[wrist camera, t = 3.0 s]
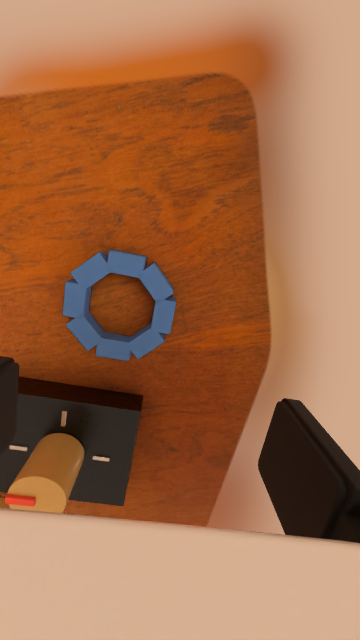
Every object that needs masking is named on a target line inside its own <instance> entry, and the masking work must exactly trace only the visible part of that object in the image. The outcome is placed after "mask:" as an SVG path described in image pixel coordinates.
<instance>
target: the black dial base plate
mask: <svg viewBox="0 0 360 640" xmlns="http://www.w3.org/2000/svg"><path fill="white" fill-rule="evenodd" d="M142 400H143V396H142V395H135V394H129V393H122V392H115V391H109V390H102V389H96V388H89V387H83V386H76V385H69V384H63V383H56V382H50V381H43V380H36V379H30V378H23V377H19V379H18V400H17V421H16V433H15V436H14V439H13V440H12V442H11V443H10V445H9V446H8V447H7V449H6V450H5V451H4V453H3V454H2V455H1V457H0V492H5V493H8V490H9V488H10V486H11V485H12V483H13V482H14V480H15V478H16V477H17V475H18V474H19V472H20V471H21V469H22V468H23V466H24V464H25V463H26V461H27V460H28V458H29V457H30V455H31V454H32V452H33V450H34V449H35V447H36V446H37V444H38V443H39V441H40V440H41V439H42V438H44V437H45V436H47V435H49V434H53V433H65V434H68V435H71V436H73V437H75V438H76V439H77V440H78V441H79V442H80V443H81V444H82V446H83V448H84V453H85V455H84V460H83V463H82V465H81V468H80V470H79V473H78V476H77V478H76V481H75V483H74V486H73V489H72V491H71V494H70V496H69V499H68V500H75V501H84V502H92V503H101V504H110V505H118V506H124V501H125V495H126V490H127V484H128V479H129V473H130V468H131V462H132V457H133V451H134V446H135V440H136V435H137V429H138V424H139V418H140V413H141V407H142Z"/></svg>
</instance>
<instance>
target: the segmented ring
mask: <svg viewBox="0 0 360 640" xmlns="http://www.w3.org/2000/svg"><path fill="white" fill-rule="evenodd" d="M146 261H147V256H143V255H138V254H133V253H128V252H123V251H118V250H109V253H108V257H107V255H106V254H105V252H99V253H97V254H96V255H94V256H93V257H92V258H90V259H89V260H87V261H86V262H85V263H83V264H82V265H80V266H79V267H78V268H76V269H75V270H74V271H72V272H71V273H70V274H71V275H72V276H73V278H74V279H71V280H69V281H66V282H65V292H64V303H63V316H67V317H72V318H73V319H72V320H70V321H69V322H68V323H67V324H66V326H67V327H68V329H69V330H70V331H71V332H72V333H73V335H74V336H75V337H76V338H77V339H78V341H79V342H80V343H81V344H82V345H83V347H84V348H85V349H86V350H87V351H89V350H90V349H92V348H93V347H95V346H96V345H97V348H96V356H100V357H106V358H112V359H118V360H124V361H129V359H130V356H131V353H133V354H134V355H135V357H136V358H137V359H139V358H141V357H142V356H144V355H145V354H147V353H148V352H150V351H152V350H153V349H155V348H156V347H158V346H159V345H161V344H162V343H164V342H165V335H164V334H170V332H171V327H172V322H173V317H174V312H175V307H176V298H173V297H169V296H170V295H172V294H173V293H174V288H173V287H172V286H171V284H170V283H169V281H168V280H167V278H166V277H165V275H164V274H163V272H162V271H161V269H160V268H159V267H158V265H157V264H156V262H153V263H152V264H151V265H149V266H148V267H146ZM145 267H146V268H145ZM109 273H115V274H120V275H125V276H130V277H136V278H139V279H140V281H141V282H142V283H143V285H144V286H145V288H146V289H147V290H148V292H149V293H150V295H151V296H152V297H153V299H154V300H155V306H154V312H153V317H152V323H150V324H149V325H147V326H146V327H144V328H143V329H141V330H140V331H138V332H137V333H135V334H134V335H132V336H125V335H119V334H113V333H107V332H105V331H104V330H103V329H102V327H101V326H100V325H99V324H98V322H97V321H96V320H95V319H94V317H93V316H92V315H91V314H90V312H89V306H90V297H91V289H92V285H94V284H95V283H97V282H98V281H99V280H101V279H102V278H104V277H105V276H107V275H108V274H109Z"/></svg>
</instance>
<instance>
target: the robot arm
mask: <svg viewBox="0 0 360 640" xmlns="http://www.w3.org/2000/svg"><path fill="white" fill-rule="evenodd" d="M18 379H19V365H18V363H14V359H13V358H9V357H2V356H0V457H1V455H2V454H3V453H4V451H5V450H6V449H7V447H8V446H9V445H10V443H11V442H12V440H13V439H14V436H15V433H16V421H17V400H18ZM258 467H259V472H260V474H261V477H262V479H263V482H264V484H265V486H266V489H267V491H268V493H269V496H270V498H271V501H272V503H273V506H274V508H275V511H276V513H277V516H278V518H279V520H280V523H281V525H282V527H283V530H284V532H285V535H282V534H272V533H262V532H252V531H242V530H233V529H223V528H213V527H203V526H193V525H182V524H172V523H162V522H151V521H141V520H130V519H120V518H109V517H98V516H88V515H76V514H65V513H54V512H43V511H31V510H20V509H9V508H0V640H360V470H359V469H358V468H357V467H356V466H355V464H354V463H353V462H352V461H351V460H350V459H349V458H348V456H347V455H346V454H345V453H344V452H343V450H342V449H341V448H340V447H339V446H338V445H337V443H336V442H335V441H334V440H333V439H332V438H331V436H330V435H329V434H328V433H327V432H326V431H325V429H324V428H323V427H322V426H321V425H320V423H319V422H318V421H317V420H316V419H315V417H314V416H313V415H312V414H311V413H310V412H309V410H308V409H307V408H306V407H305V406H304V405H303V403H302V402H301V401H299V400H292V399H285V398H284V399H283V400H282V401H281V402H278V403H277V404H276V407H275V410H274V413H273V417H272V420H271V423H270V426H269V429H268V432H267V436H266V438H265V442H264V445H263V448H262V451H261V454H260V458H259V461H258Z"/></svg>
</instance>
